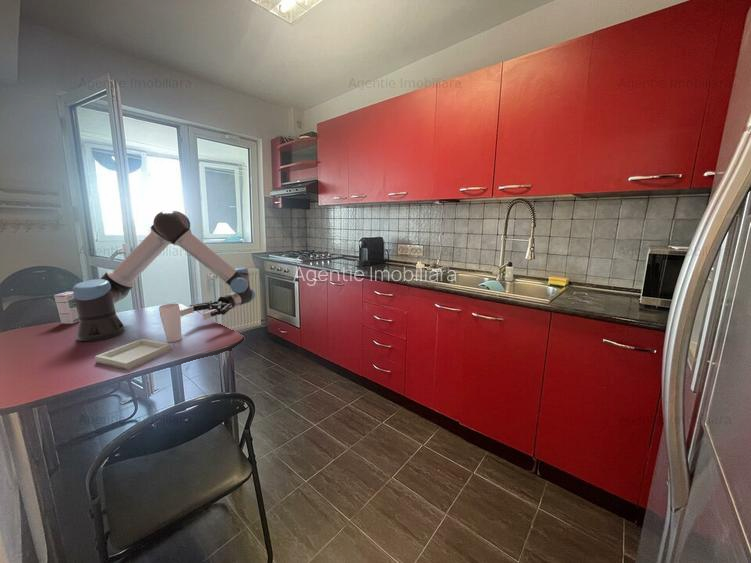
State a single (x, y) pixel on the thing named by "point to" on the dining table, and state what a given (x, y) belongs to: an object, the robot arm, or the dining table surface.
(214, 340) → the dining table surface
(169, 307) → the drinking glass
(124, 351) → the tray
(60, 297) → the syrup box
